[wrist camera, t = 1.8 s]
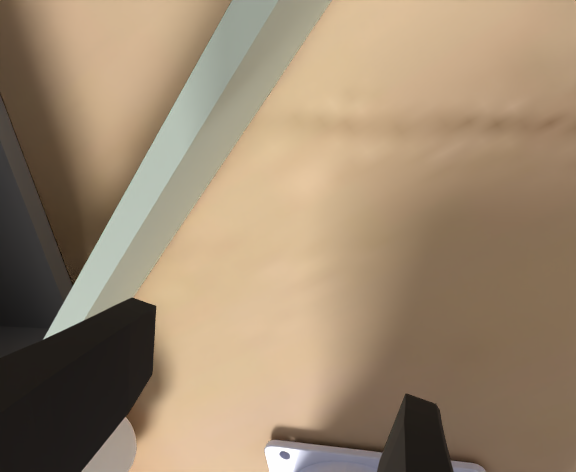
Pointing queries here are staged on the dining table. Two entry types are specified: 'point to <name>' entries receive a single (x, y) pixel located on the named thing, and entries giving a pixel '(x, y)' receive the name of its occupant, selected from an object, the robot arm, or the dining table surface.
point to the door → (190, 147)
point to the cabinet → (25, 253)
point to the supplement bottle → (115, 451)
